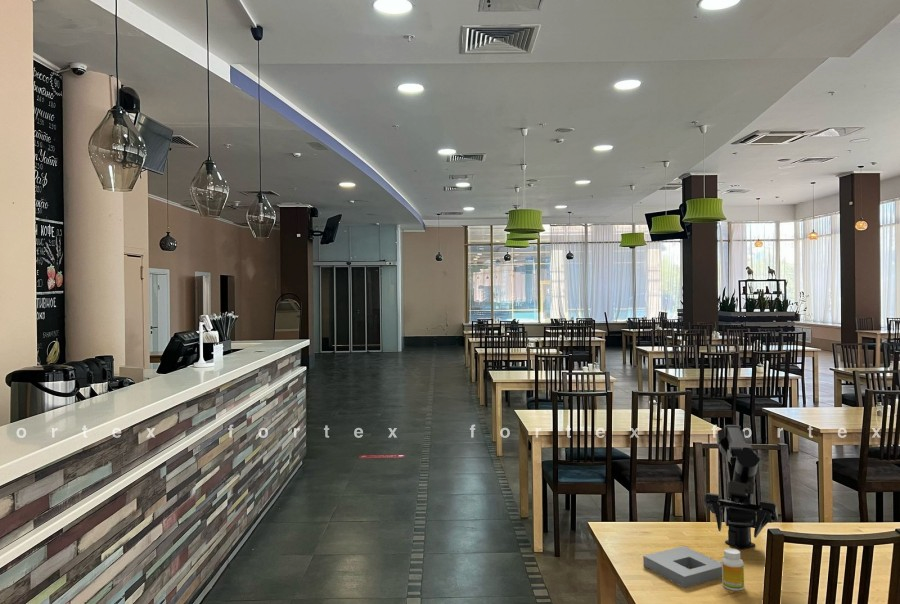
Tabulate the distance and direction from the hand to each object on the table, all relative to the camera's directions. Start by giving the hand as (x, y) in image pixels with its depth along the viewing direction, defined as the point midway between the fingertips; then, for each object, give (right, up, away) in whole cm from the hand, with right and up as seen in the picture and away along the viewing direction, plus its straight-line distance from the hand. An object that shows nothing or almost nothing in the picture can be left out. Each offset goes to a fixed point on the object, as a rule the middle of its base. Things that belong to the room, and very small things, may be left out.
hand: (736, 533), depth 172 cm
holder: (-13, -13, +5) cm, 19 cm away
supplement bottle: (-3, -13, -5) cm, 14 cm away
